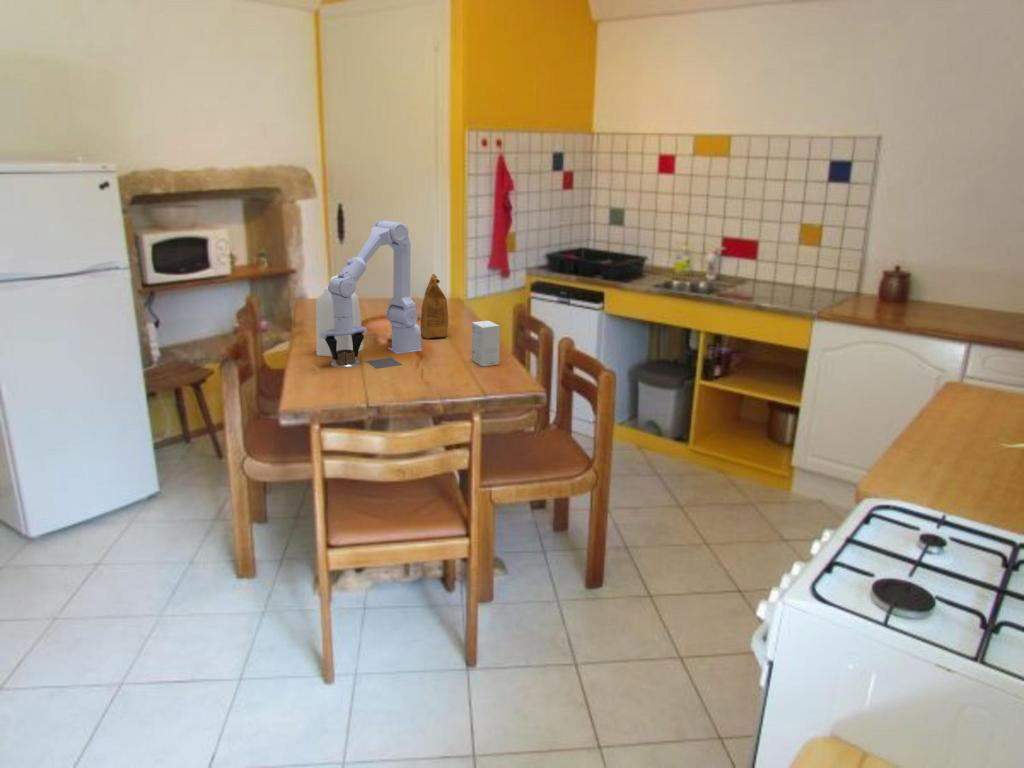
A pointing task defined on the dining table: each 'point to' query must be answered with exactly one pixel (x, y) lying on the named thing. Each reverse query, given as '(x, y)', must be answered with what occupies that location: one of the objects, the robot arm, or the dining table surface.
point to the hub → (345, 365)
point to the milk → (327, 322)
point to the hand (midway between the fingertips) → (345, 357)
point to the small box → (485, 343)
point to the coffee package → (434, 311)
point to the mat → (383, 363)
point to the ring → (345, 357)
